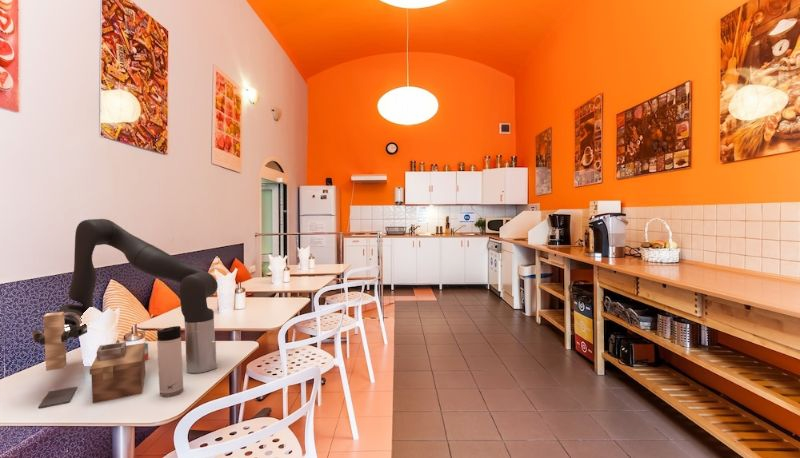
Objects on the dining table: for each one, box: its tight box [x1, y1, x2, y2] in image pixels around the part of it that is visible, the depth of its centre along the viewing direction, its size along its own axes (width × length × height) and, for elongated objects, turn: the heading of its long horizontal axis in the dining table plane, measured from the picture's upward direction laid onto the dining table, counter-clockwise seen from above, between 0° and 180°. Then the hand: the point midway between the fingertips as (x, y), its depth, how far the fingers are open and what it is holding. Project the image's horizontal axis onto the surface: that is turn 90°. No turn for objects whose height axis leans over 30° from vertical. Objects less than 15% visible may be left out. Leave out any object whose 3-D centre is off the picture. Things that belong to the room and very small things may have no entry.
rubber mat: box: [37, 386, 79, 409], centre depth 124 cm, size 7×12×1 cm, turn 29°
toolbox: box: [89, 341, 146, 404], centre depth 131 cm, size 13×21×13 cm, turn 29°
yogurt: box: [144, 342, 149, 361], centre depth 150 cm, size 12×2×6 cm, turn 2°
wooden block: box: [43, 311, 67, 372], centre depth 123 cm, size 4×4×16 cm
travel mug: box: [156, 325, 184, 398], centre depth 125 cm, size 6×7×20 cm
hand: (52, 339), depth 121 cm, fingers closed on wooden block, 4 cm apart
